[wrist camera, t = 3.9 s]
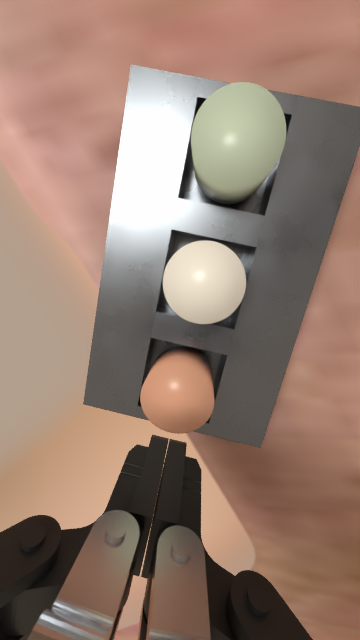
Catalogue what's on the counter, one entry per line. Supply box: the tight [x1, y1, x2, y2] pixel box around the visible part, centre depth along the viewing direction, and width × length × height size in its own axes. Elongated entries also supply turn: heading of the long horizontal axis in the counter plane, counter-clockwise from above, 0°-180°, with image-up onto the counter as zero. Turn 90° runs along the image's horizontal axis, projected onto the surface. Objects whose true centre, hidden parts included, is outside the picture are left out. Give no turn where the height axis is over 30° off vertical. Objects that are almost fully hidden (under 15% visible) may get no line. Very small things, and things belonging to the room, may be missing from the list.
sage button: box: [191, 82, 286, 204], centre depth 14 cm, size 4×4×4 cm
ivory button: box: [163, 241, 246, 324], centre depth 15 cm, size 4×4×4 cm
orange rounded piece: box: [140, 346, 214, 433], centre depth 17 cm, size 4×4×4 cm
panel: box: [83, 65, 360, 448], centre depth 18 cm, size 21×13×3 cm, turn 168°
